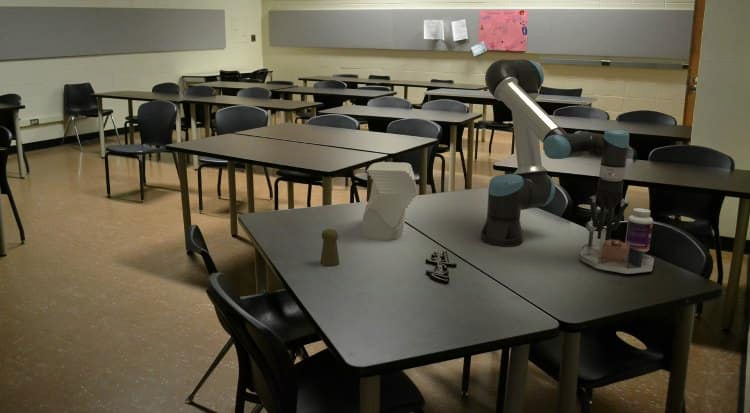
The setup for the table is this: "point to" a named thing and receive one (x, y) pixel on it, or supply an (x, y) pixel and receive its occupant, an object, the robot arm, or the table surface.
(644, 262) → the turntable
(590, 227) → the dial stand
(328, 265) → the cork
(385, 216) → the paper stack
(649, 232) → the pill bottle
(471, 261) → the table surface
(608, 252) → the pink gift box
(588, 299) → the table surface
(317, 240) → the table surface
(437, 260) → the black irregular piece
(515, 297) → the table surface
